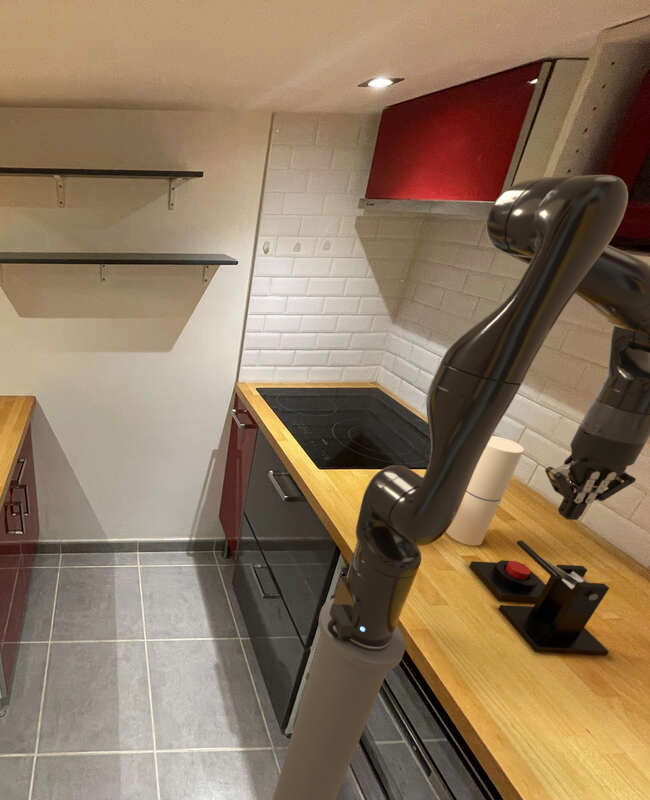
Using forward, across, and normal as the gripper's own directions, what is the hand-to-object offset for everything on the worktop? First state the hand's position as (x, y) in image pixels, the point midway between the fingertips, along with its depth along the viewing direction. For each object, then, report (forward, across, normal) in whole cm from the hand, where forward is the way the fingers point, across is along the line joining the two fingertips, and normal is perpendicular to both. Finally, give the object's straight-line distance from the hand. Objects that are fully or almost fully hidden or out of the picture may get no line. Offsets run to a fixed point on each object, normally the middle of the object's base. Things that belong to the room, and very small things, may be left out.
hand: (567, 516), depth 78 cm
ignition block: (+22, -2, -5) cm, 23 cm away
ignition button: (+19, -2, -5) cm, 20 cm away
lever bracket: (+22, -1, +6) cm, 23 cm away
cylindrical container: (+22, -2, -20) cm, 30 cm away
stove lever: (+9, +3, +6) cm, 11 cm away
